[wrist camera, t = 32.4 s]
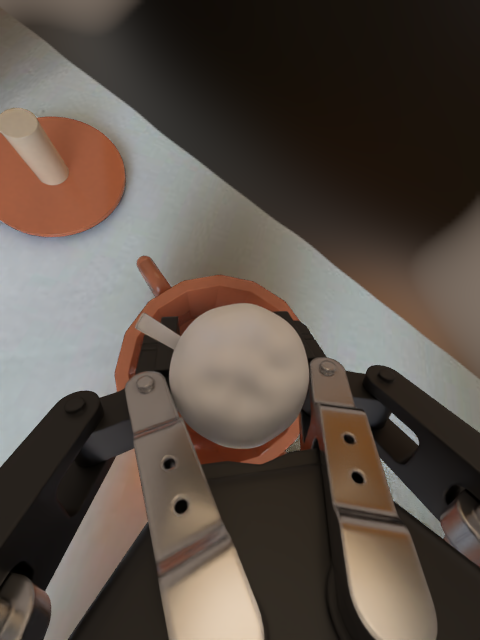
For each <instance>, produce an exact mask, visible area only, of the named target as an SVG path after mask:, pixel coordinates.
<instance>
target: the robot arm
mask: <svg viewBox="0 0 480 640" xmlns="http://www.w3.org/2000/svg"><path fill="white" fill-rule="evenodd" d="M273 313H275V314H276V315H278V316H280V317H281V318H283V319H284V320H286V321H287V322H288V323H289V324H290V325H291V326H292V327H293V328H294V329H295V331H296V332H297V334H298V335H299V337H300V339H301V341H302V343H303V346H304V349H305V352H306V356H307V360H308V366H309V385H308V391H307V395H306V398H305V401H304V404H303V406H302V409H301V411H300V413H299V430H300V451H293V452H288V453H286V454H284V455H282V456H279V457H277V458H275V459H273V460H270V461H268V462H266V463H263V464H250V463H242V462H234V461H222V462H215V463H208V464H200V461H199V459H198V456H197V453H196V451H195V448H194V446H193V443H192V440H191V438H190V435H189V432H188V430H187V427H186V425H185V422H184V420H183V418H182V417H181V418H180V417H179V414H178V412H179V411H178V409H177V407H176V405H175V402H174V400H173V397H172V393H171V389H170V383H169V369H170V363H171V359H172V355H173V352H174V350H173V349H172V348H170V347H168V346H166V345H164V344H162V343H161V342H159V341H157V340H155V339H153V338H151V337H150V336H148V335H146V334H145V335H144V338H143V342H142V347H141V351H140V356H139V360H138V364H137V369H136V373H135V375H134V376H133V377H131V378H130V379H129V380H128V382H127V383H126V385H125V388H124V389H122V390H120V391H118V392H116V393H113V394H110V395H107V396H104V397H101V398H99V396H98V395H97V394H96V393H94V392H92V391H78V392H75V393H72V394H69V395H67V396H65V397H64V398H62V399H61V400H60V401H58V402H57V403H56V404H55V406H54V407H53V408H52V409H51V410H50V411H49V412H48V414H47V415H46V416H45V417H44V418H43V419H42V420H41V422H40V423H39V424H38V425H37V426H36V427H35V428H34V430H33V431H32V432H31V433H30V434H29V435H28V436H27V438H26V439H25V440H24V441H23V442H22V443H21V444H20V446H19V447H18V448H17V449H16V450H15V451H14V452H13V454H12V455H11V456H10V457H9V458H8V459H7V460H6V462H5V463H4V464H3V465H2V466H1V467H0V640H43V639H44V637H45V634H46V631H47V629H48V626H49V622H50V617H51V602H50V599H49V596H48V595H47V593H46V592H45V590H46V588H47V586H48V584H49V582H50V580H51V579H52V577H53V575H54V573H55V571H56V569H57V567H58V565H59V563H60V562H61V560H62V558H63V556H64V554H65V552H66V550H67V548H68V546H69V545H70V543H71V541H72V539H73V537H74V535H75V533H76V531H77V529H78V527H79V526H80V524H81V522H82V520H83V518H84V516H85V514H86V512H87V510H88V509H89V507H90V505H91V503H92V501H93V499H94V497H95V495H96V493H97V492H98V490H99V488H100V486H101V484H102V482H103V480H104V478H105V476H106V475H107V473H108V471H109V469H110V467H111V465H112V463H113V461H114V459H115V457H116V456H117V455H119V454H122V453H124V452H126V451H129V450H131V449H133V448H135V454H136V459H137V464H138V470H139V475H140V480H141V486H142V491H143V496H144V502H145V507H146V512H147V518H148V522H147V524H146V525H145V526H144V528H143V529H142V531H141V532H140V534H139V535H138V537H137V538H136V540H135V541H134V543H133V544H132V546H131V547H130V549H129V550H128V552H127V553H126V554H125V556H124V557H123V559H122V560H121V562H120V563H119V565H118V566H117V568H116V569H115V571H114V572H113V574H112V575H111V577H110V578H109V579H108V581H107V582H106V584H105V585H104V587H103V588H102V590H101V591H100V593H99V594H98V596H97V597H96V599H95V600H94V602H93V603H92V605H91V606H90V607H89V609H88V610H87V612H86V613H85V615H84V616H83V618H82V619H81V621H80V622H79V624H78V625H77V627H76V628H75V630H74V631H73V633H72V634H71V635H70V637H69V638H68V640H480V433H479V432H478V431H476V430H475V429H474V428H472V427H471V426H470V425H468V424H467V423H466V422H464V421H463V420H461V419H460V418H459V417H457V416H456V415H455V414H453V413H452V412H451V411H449V410H448V409H447V408H445V407H444V406H443V405H441V404H440V403H439V402H437V401H436V400H434V399H433V398H432V397H430V396H429V395H428V394H426V393H425V392H424V391H422V390H421V389H420V388H418V387H417V386H416V385H414V384H413V383H412V382H410V381H409V380H407V379H406V378H405V377H403V376H402V375H401V374H399V373H398V372H397V371H395V370H393V369H391V368H389V367H386V366H381V365H374V366H371V367H369V368H368V369H367V371H366V374H362V373H355V372H349V371H345V369H344V367H343V366H342V365H341V364H340V363H339V362H337V361H336V360H334V359H331V358H327V357H326V355H325V354H324V352H323V351H322V349H321V348H320V346H319V345H318V343H317V342H316V340H314V337H313V336H312V334H310V331H309V330H308V328H307V327H306V326H305V325H304V324H303V323H301V322H300V321H298V320H294V321H293V319H292V317H291V316H290V314H289V312H288V311H276V312H273ZM161 324H163V325H164V326H166V327H167V328H169V329H170V330H172V331H173V332H175V333H176V334H178V335H179V336H180V329H179V319H178V316H173V317H162V319H161ZM391 413H393V414H394V415H395V416H396V417H397V418H398V419H400V420H401V421H402V422H403V423H404V424H405V425H406V426H407V427H409V428H410V429H411V430H412V431H413V432H414V433H415V434H416V436H417V437H418V440H419V446H418V445H417V444H416V443H415V442H414V441H413V440H412V439H411V438H410V437H408V436H407V435H406V434H405V433H404V432H403V431H402V430H401V429H400V428H399V427H398V426H396V425H395V424H394V423H393V422H392V421H391V420H390V419H389V417H390V415H391ZM380 458H381V459H382V460H383V461H384V462H385V463H386V464H387V466H388V467H389V468H390V469H391V470H392V471H393V472H394V473H395V474H396V475H397V476H398V477H399V478H400V479H401V481H402V482H403V483H404V484H405V485H406V486H407V487H408V488H409V489H410V490H411V491H412V492H413V493H414V495H415V496H416V497H417V498H418V499H419V500H420V501H421V502H422V503H423V504H424V505H425V506H426V507H427V509H428V510H429V511H430V512H431V513H432V514H433V515H434V516H435V517H436V518H437V519H438V520H439V521H440V522H441V526H442V529H443V531H444V533H445V535H444V539H442V538H441V537H440V536H438V535H437V534H436V533H434V532H433V531H432V530H431V529H429V528H428V527H427V526H425V525H424V524H423V523H421V522H420V521H419V520H417V519H416V518H415V517H414V516H412V515H411V514H410V513H408V512H407V511H406V510H404V509H403V508H402V507H400V506H399V505H398V504H397V503H395V502H394V501H393V499H392V496H391V493H390V489H389V486H388V483H387V480H386V476H385V473H384V470H383V467H382V464H381V460H380Z"/></svg>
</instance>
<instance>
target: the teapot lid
mask: <svg viewBox="0 0 480 640" xmlns="http://www.w3.org/2000/svg"><path fill="white" fill-rule="evenodd" d="M125 183H126V173H125V167H124V163H123V160H122V158H121V156H120V153H119V152H118V150H117V148H116V147H115V145H114V144H113V143H112V142H111V141H110V140H109V139H108V138H107V137H106V136H105V135H104V134H103V133H101V132H100V131H99V130H97V129H95V128H94V127H92V126H90V125H88V124H85V123H83V122H80V121H77V120H74V119H69V118H63V117H39V118H36V116H35V115H34V114H33V113H32V112H30V111H28V110H26V109H23V108H11V109H8V110H6V111H4V112H2V113H1V114H0V220H1V221H2V222H3V223H5V224H6V225H8V226H10V227H12V228H14V229H16V230H18V231H21V232H23V233H27V234H31V235H36V236H42V237H60V236H68V235H73V234H76V233H80V232H83V231H85V230H88V229H90V228H92V227H94V226H95V225H97V224H99V223H100V222H102V221H103V220H104V219H106V218H107V217H108V216H109V215H110V214H111V213H112V212H113V210H114V209H115V208H116V207H117V205H118V203H119V202H120V200H121V198H122V195H123V193H124V189H125Z"/></svg>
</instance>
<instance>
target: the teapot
mask: <svg viewBox="0 0 480 640" xmlns="http://www.w3.org/2000/svg"><path fill="white" fill-rule="evenodd" d="M238 303H249V304H254V305H257V306H260V307H263V308H265V309H267V310H269V311H271V312H276V311H288V312H289V314H290V316H291V317H292V319H293V321H294V320H298V321H299V319H298V318H297V317H296V315H295V314H294V313H293V311H292V310H291V308H290V307H289V306H288V304H287V303H286V302H284V300H282V299H280V298H279V297H277V296H276V295H274V294H273V293H271V292H269V291H268V290H266V289H265V288H263V287H262V286H260V285H259V284H257V283H255V282H253V281H248V280H243V279H238V278H233V277H229V276H224V275H214V276H209V277H203V278H197V279H191V280H185V281H183V282H180V283H178V284H177V285H175V286H173V287H172V288H170V289H168V290H167V291H165V292H163V293H162V294H160V295H158V296H157V297H155V298H153V299H152V300H150V301H149V302H148V303H147V305H146V306H145V307H144V309H143V310H142V311H141V313H140V314H139V315H138V317H137V318H136V319H135V321H134V322H133V323H132V324H131V326H130V327H129V328H128V330H127V331H126V333H125V335H124V339H123V343H122V347H121V351H120V354H119V358H118V362H117V366H116V370H115V381H116V388H117V392H118V391H120V390H122V389H124V388H125V385H126V383H127V382H128V380H129V379H130V378H131V377H133V376H134V375H135V373H136V369H137V364H138V360H139V356H140V351H141V347H142V342H143V338H144V335H145V334H144V333H142V332H140V331H139V330H137V329H136V328H135V325H136V323H137V321H138V320H139V318H140V316H141V314H142V313H146V314H148V315H149V316H151V317H152V318H154V319H155V320H157V321H158V322H160V323H161V319H162V317H173V316H178V319H179V329H180V336H182V334H183V333H184V331H185V330H186V329H187V327H188V326H189V325H190V324H191V323H192V322H193V321H194V320H195V319H196V318H197V317H199V316H200V315H202V314H203V313H205V312H207V311H209V310H211V309H214V308H217V307H221V306H226V305H232V304H238ZM178 414H179V417H180V418H181V417H182V416H181V414H180V413H179V412H178ZM182 418H183V417H182ZM183 420H184V419H183ZM184 422H185V420H184ZM185 425H186V427H187V430H188V432H189V435H190V438H191V440H192V443H193V446H194V448H195V451H196V453H197V456H198V459H199V461H200V464H208V463H215V462H222V461H234V462H242V463H250V464H263V463H266V462H268V461H270V460H273V459H275V458H277V457H278V456H279V455H280V454H281V453H282V452H283V451H285V450H286V449H287V448H288V447H289V446H290V445H291V444H293V443H294V442H295V440H296V439H297V437H298V435H299V433H300V430H299V415H298V417H297V418H296V420H295V421H294V422H293V423H292V424H291V425H290V426H289V427H288V428H287V429H286V430H285V431H283V432H282V433H281V434H279V435H278V436H276V437H275V438H273V439H272V440H270V441H269V442H267V443H265V444H263V445H261V446H258V447H255V448H248V449H236V448H229V447H224V446H221V445H218V444H216V443H214V442H212V441H210V440H208V439H206V438H204V437H203V436H201V435H200V434H198V433H197V432H195V431H194V430H193V429H192V428H191V427H190V426H189V425H188V424H187V423H186V422H185Z"/></svg>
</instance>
